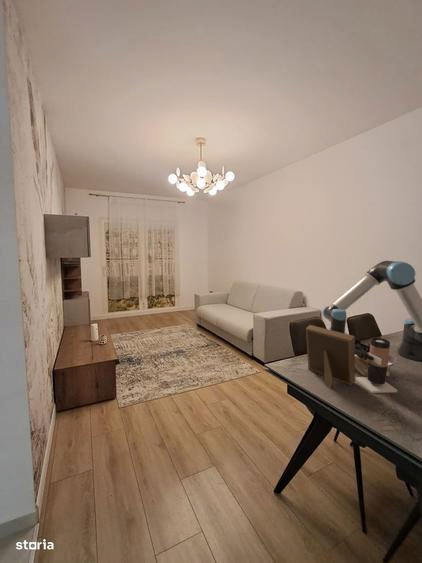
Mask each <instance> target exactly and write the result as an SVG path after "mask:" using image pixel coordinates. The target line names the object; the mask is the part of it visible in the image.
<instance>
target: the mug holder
mask: <svg viewBox="0 0 422 563" xmlns="http://www.w3.org/2000/svg"><path fill="white" fill-rule="evenodd" d="M368 362H369V359H368V358H367V360H364V357H363V358H360V357H358V356H357V355H355V371H357V372H359V373H360V374H361V375H363V377H368ZM390 373H391V366H389V365H388V367H387V374H386V377H390Z"/></svg>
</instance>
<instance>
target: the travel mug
mask: <svg viewBox="0 0 422 563" xmlns="http://www.w3.org/2000/svg"><path fill="white" fill-rule="evenodd" d="M369 344H370V352H369V353H370V354H372V355H374V356H376V357H378V358H380V359H382V362H381V365H379V364H377V363H375V362H373V361H371V360H369V362H368V365H367V366H368V376H367V377H368V380H369V381H370V382H372V383H375V384H385V382H386V378H387V376H386V374H387V367H388V366H389V361H388V358H389V355H390V348H391V342H390V340H388V339H385V338H381V337H373V338H371V339H370V343H369Z"/></svg>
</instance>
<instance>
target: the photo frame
mask: <svg viewBox="0 0 422 563" xmlns="http://www.w3.org/2000/svg"><path fill="white" fill-rule="evenodd" d="M328 329H329V328H325V327H319V326H316V325H312V324H309V325H308V326H307V327H306V328H305V337H306V353H307V355H306V356H307V367H308V370H310V371H313V372H315V373H319V374H321V375H323V376H324V385H326V387H328V388H329V389H332V386H333V381H334V380H336V381H338V382H341V383H343V384H346V385H348V386H352V385H353V384H354V382H355V381H356V369H355V356H356V355H355V338H356V337H355V335H351V334H349V335H348V333H346V334H344V333H340V332H336V331H332V330H328Z"/></svg>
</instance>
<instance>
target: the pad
mask: <svg viewBox="0 0 422 563" xmlns="http://www.w3.org/2000/svg"><path fill="white" fill-rule="evenodd" d="M355 381H357V382H358V383H360V385H362V386H364V387H365V388H366V389H367V390H368V391H369V392H371V393H372V394H377V393H379V394H381V393H382V394H383V393H398V389H396V388H395V386H392V385H391V384H390V383H389V382H387V381H385V384H375V383H372V382H370V381H369V380H368V376H355Z"/></svg>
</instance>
